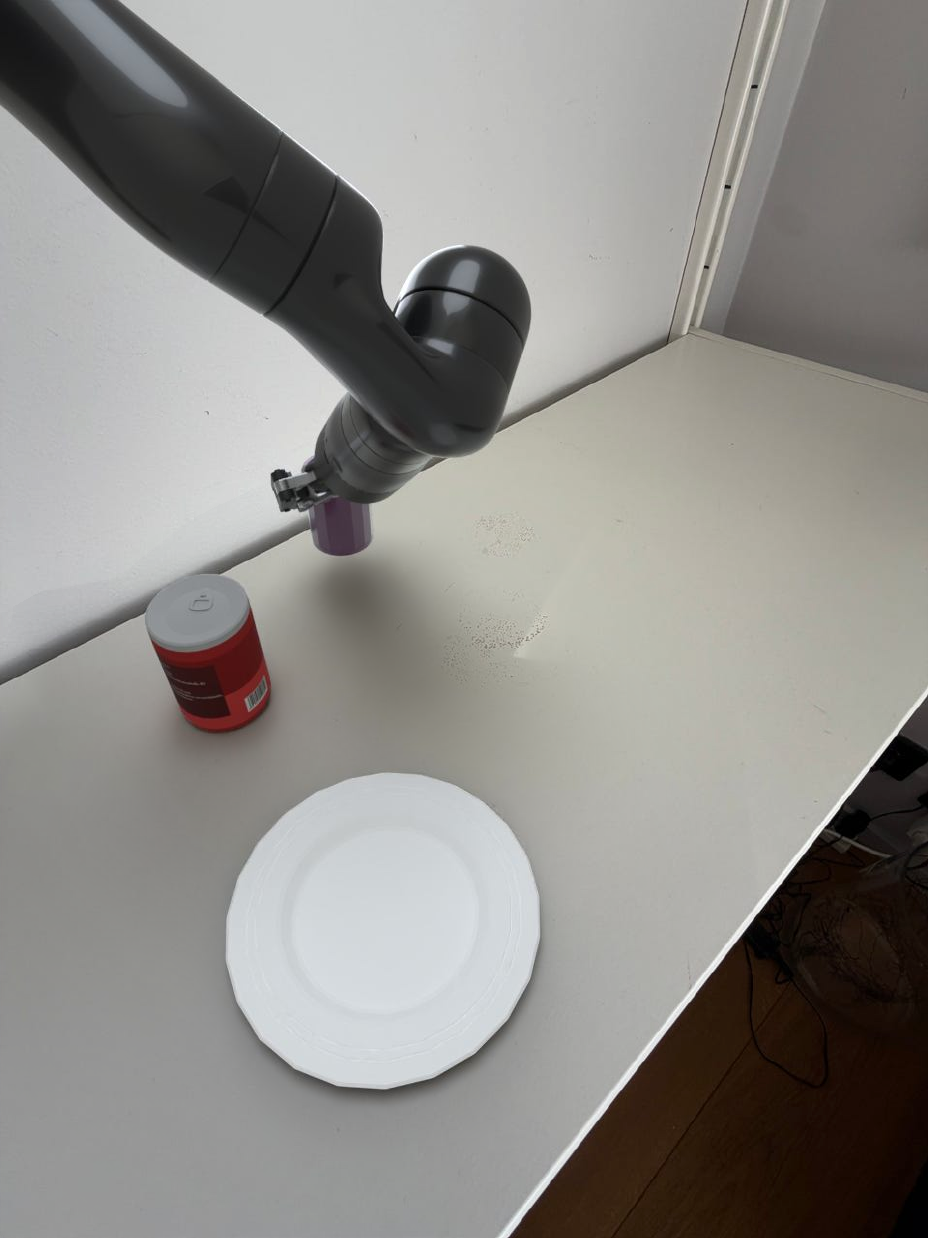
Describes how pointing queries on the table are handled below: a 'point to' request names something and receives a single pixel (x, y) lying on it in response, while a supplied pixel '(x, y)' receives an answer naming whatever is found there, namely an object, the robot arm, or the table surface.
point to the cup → (340, 525)
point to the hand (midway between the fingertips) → (331, 491)
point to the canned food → (210, 651)
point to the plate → (382, 930)
